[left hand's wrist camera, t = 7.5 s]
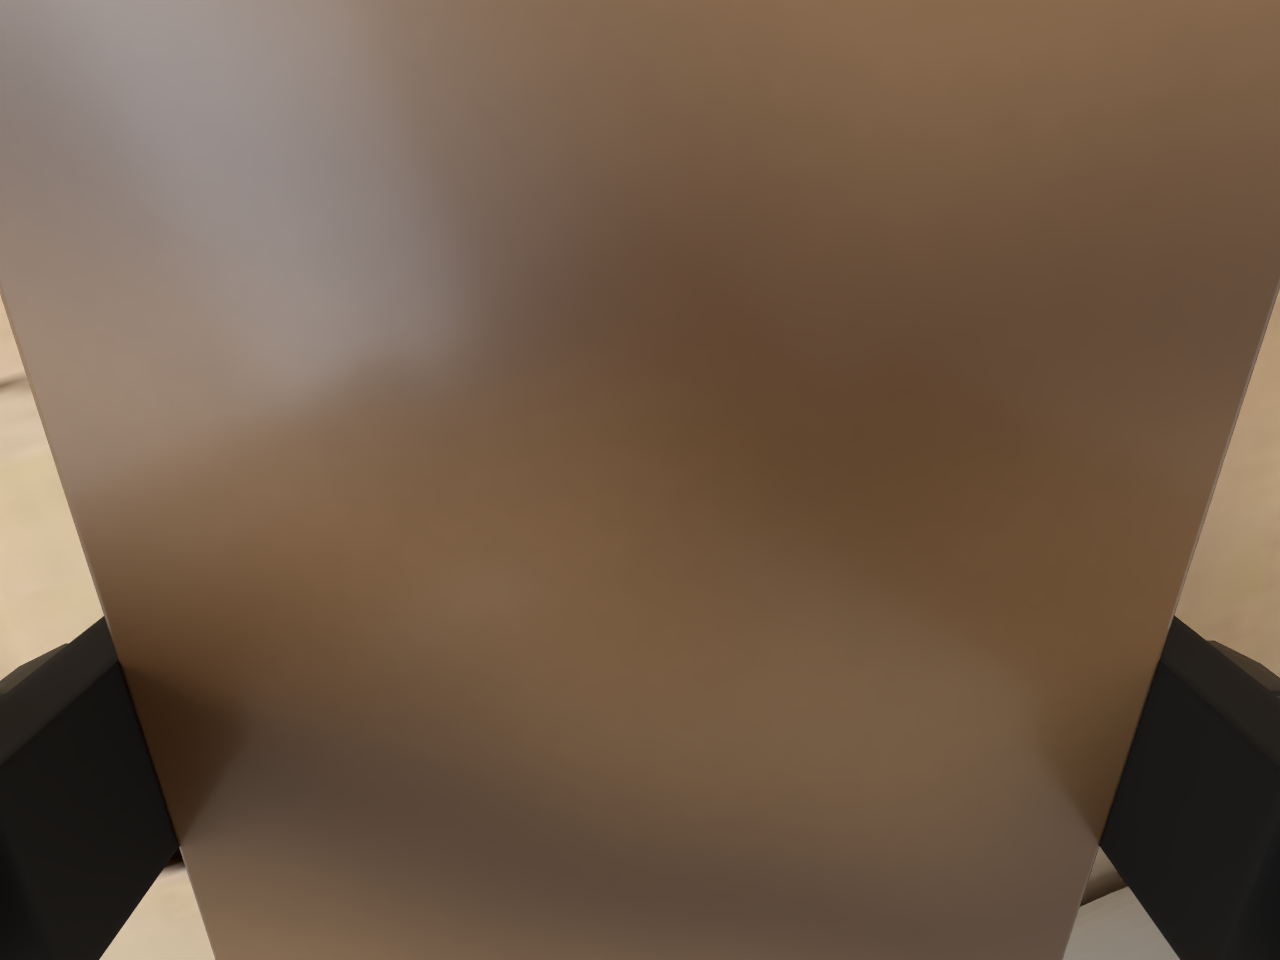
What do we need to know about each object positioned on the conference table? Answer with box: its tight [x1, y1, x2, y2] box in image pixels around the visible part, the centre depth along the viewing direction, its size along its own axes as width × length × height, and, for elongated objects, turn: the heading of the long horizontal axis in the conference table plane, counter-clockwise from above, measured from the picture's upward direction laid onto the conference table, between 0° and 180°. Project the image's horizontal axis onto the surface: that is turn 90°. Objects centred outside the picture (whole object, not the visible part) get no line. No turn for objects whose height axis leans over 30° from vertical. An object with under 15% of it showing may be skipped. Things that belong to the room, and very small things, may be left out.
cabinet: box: [0, 0, 1280, 960], centre depth 12 cm, size 20×11×12 cm, turn 0°
